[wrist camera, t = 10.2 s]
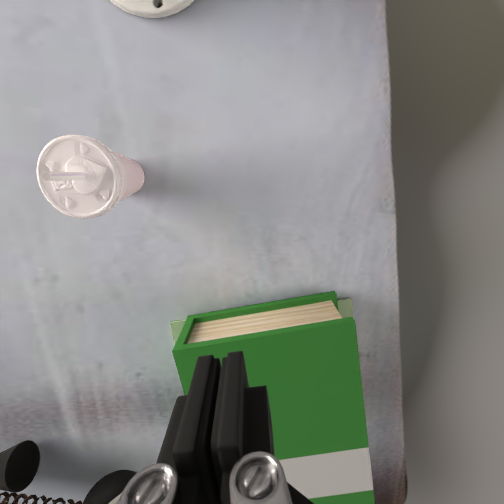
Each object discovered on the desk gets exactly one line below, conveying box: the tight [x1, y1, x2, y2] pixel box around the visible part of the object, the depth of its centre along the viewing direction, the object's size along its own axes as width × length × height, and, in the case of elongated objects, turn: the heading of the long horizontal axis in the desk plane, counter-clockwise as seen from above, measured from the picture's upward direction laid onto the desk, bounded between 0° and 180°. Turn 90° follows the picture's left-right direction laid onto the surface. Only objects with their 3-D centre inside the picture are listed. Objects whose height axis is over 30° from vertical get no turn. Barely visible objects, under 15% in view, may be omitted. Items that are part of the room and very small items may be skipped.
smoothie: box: [37, 135, 144, 218], centre depth 26 cm, size 6×6×14 cm
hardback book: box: [172, 291, 375, 504], centre depth 35 cm, size 18×7×24 cm
